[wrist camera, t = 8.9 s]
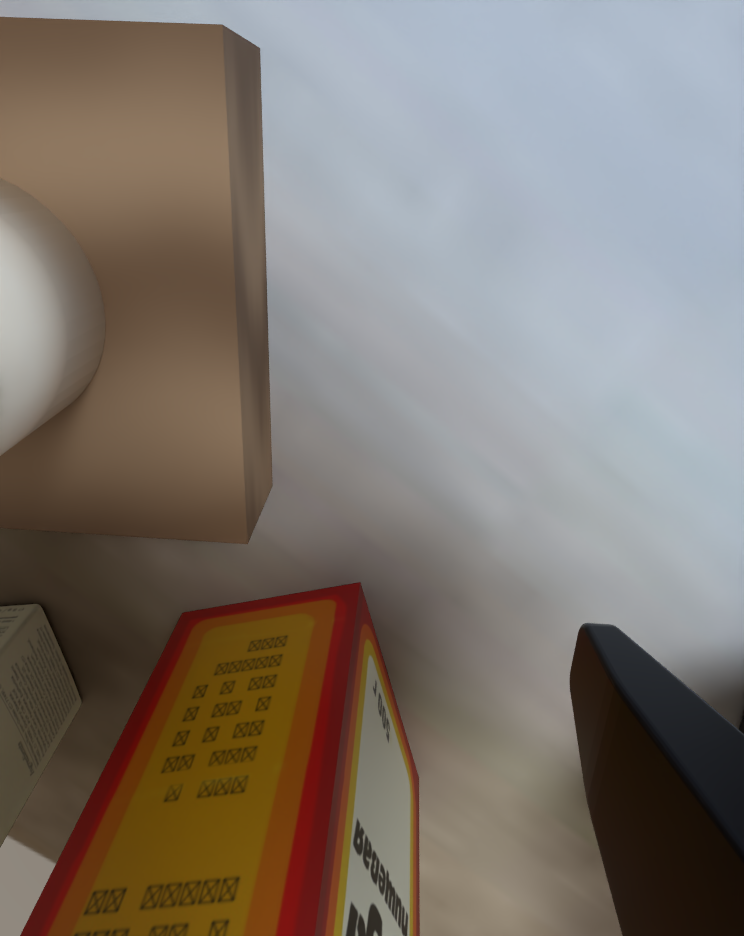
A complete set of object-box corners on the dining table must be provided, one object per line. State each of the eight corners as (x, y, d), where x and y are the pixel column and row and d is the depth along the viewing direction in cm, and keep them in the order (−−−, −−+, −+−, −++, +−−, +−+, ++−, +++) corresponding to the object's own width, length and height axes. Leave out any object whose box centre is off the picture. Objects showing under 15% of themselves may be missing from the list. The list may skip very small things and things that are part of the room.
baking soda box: (418, 777, 27) (421, 1507, 12) (263, 797, 28) (99, 1492, 14) (360, 582, 23) (267, 1304, 9) (182, 612, 24) (-167, 1306, 10)
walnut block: (275, 479, 22) (247, 544, 19) (-82, 457, 23) (-177, 516, 19) (263, 50, 17) (222, 24, 13) (-199, 33, 18) (-358, 4, 14)
